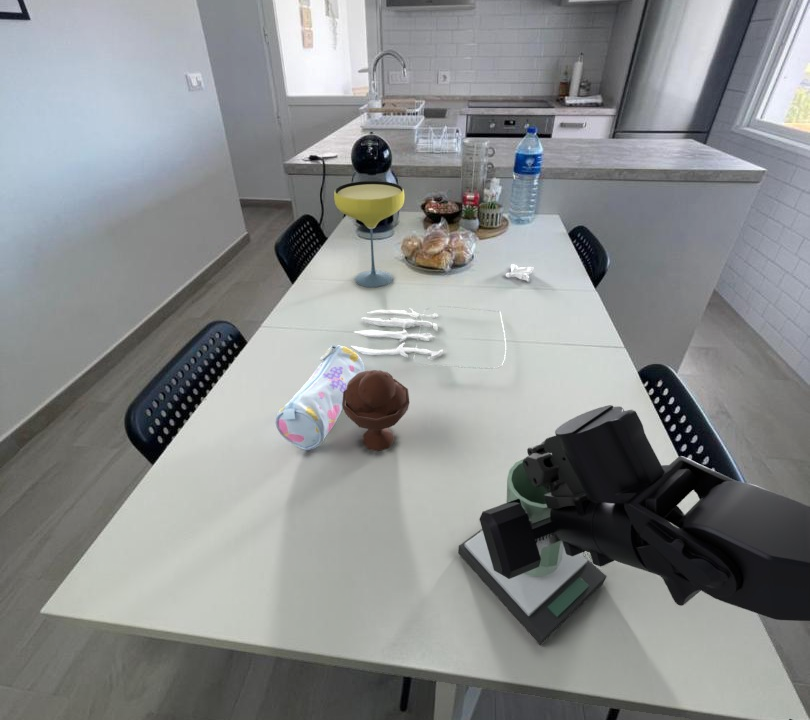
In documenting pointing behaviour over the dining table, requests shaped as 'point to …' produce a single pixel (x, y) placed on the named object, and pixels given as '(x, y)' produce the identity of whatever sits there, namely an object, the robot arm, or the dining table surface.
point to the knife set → (405, 334)
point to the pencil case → (319, 399)
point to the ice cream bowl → (375, 406)
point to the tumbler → (534, 515)
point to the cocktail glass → (370, 215)
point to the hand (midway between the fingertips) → (528, 506)
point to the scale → (536, 588)
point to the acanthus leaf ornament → (520, 272)
